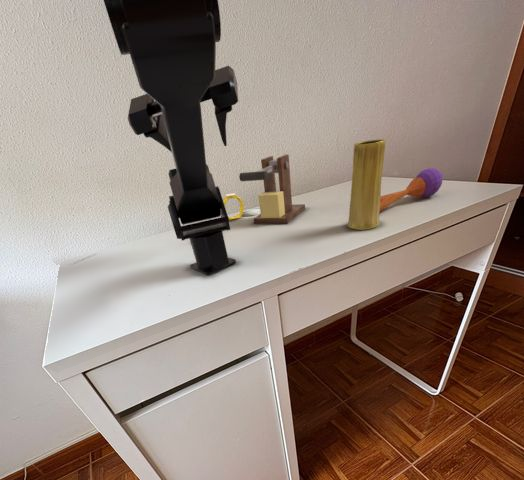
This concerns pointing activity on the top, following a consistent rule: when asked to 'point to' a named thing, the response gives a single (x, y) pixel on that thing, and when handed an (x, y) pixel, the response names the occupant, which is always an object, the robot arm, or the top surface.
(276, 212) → the butter
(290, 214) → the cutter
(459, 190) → the top surface
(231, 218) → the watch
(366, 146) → the vase
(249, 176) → the angled grey lever
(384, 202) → the maraca
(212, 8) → the robot arm
